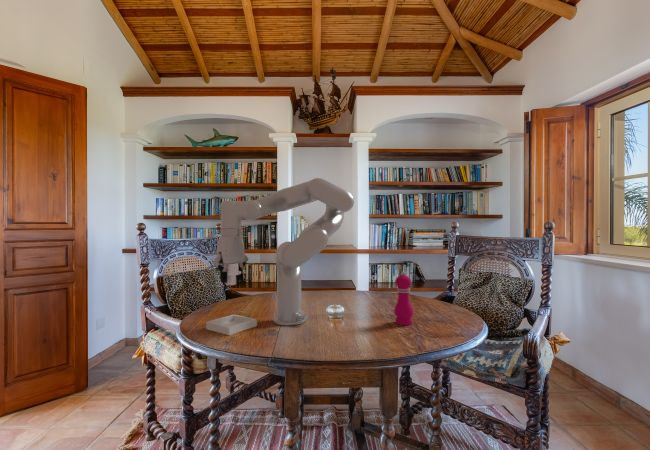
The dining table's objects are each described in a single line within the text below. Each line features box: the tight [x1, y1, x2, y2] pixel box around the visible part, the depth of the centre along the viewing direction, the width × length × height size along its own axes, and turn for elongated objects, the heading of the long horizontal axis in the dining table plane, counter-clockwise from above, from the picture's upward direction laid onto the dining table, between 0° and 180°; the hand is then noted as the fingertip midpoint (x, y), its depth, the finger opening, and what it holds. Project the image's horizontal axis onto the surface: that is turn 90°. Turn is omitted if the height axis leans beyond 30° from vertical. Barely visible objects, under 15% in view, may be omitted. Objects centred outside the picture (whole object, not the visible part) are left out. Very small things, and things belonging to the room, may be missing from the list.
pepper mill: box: [393, 270, 414, 326], centre depth 131 cm, size 7×7×20 cm
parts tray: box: [205, 314, 258, 336], centre depth 128 cm, size 13×13×3 cm
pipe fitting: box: [226, 263, 241, 286], centre depth 128 cm, size 6×7×8 cm
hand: (231, 280), depth 128 cm, fingers closed on pipe fitting, 6 cm apart
